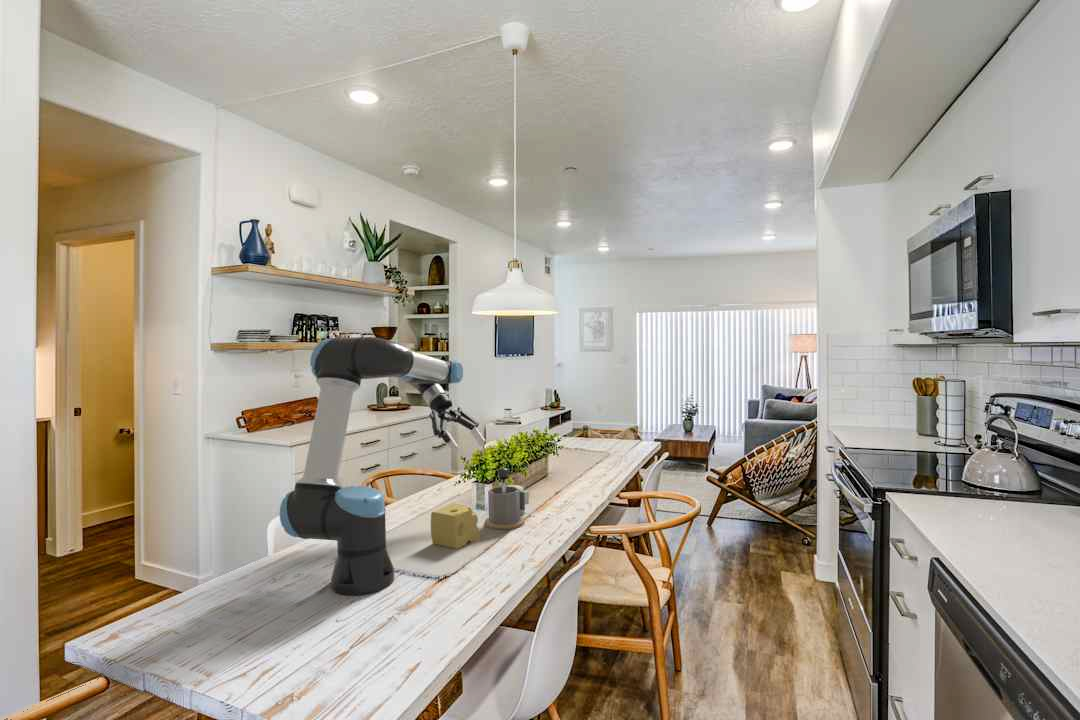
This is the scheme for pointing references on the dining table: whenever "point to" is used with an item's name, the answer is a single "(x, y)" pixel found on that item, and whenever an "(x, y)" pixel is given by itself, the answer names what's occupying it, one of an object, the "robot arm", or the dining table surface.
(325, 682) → the dining table surface
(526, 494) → the pale green dome knob
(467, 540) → the cheese
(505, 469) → the plunger
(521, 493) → the grey octagonal cup
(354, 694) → the dining table surface
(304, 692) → the dining table surface
